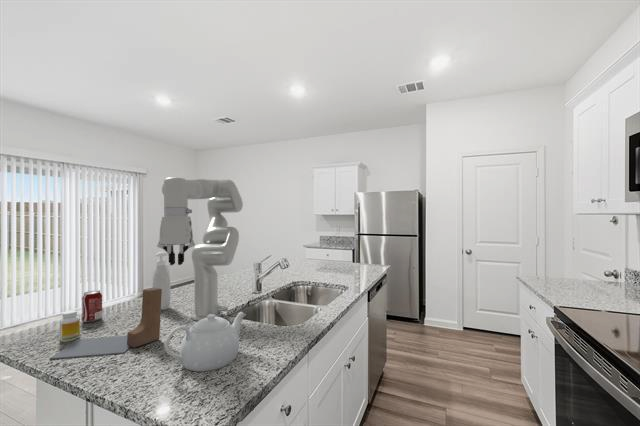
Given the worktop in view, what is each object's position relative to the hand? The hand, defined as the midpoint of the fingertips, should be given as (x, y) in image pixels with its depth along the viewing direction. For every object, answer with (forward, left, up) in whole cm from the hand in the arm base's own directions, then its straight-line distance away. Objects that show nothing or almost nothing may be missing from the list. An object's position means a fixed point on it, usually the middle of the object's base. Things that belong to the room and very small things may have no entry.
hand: (176, 264), depth 103 cm
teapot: (-14, +16, -27) cm, 35 cm away
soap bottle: (+18, -40, -27) cm, 52 cm away
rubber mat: (+24, 0, -27) cm, 37 cm away
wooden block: (+11, 0, -27) cm, 29 cm away
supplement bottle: (+39, -9, -27) cm, 48 cm away
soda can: (+42, -28, -27) cm, 57 cm away
